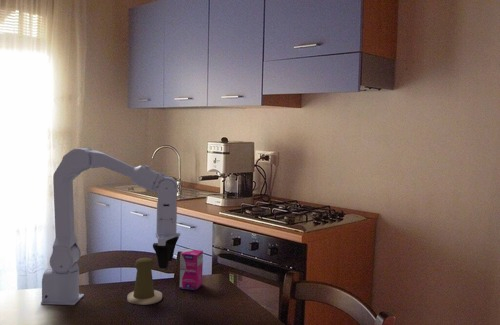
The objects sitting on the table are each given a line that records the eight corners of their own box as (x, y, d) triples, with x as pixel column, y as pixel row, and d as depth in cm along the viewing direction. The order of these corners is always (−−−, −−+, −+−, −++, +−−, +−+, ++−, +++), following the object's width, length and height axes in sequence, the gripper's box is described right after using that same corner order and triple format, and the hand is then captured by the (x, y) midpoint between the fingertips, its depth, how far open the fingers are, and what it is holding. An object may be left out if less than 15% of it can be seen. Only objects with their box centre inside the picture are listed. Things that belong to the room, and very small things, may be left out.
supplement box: (178, 289, 147) (179, 253, 146) (185, 283, 153) (186, 248, 152) (196, 291, 146) (197, 254, 145) (202, 285, 151) (203, 250, 151)
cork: (150, 299, 134) (151, 261, 133) (130, 298, 135) (130, 260, 134) (157, 292, 140) (157, 256, 139) (137, 291, 141) (137, 255, 140)
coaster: (123, 304, 133) (123, 300, 133) (132, 292, 143) (132, 288, 143) (158, 305, 133) (158, 301, 133) (165, 293, 143) (165, 289, 143)
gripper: (176, 223, 129) (175, 272, 130) (184, 214, 143) (183, 258, 144) (150, 222, 129) (149, 271, 130) (161, 213, 143) (160, 257, 144)
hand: (165, 264), depth 137 cm, fingers open, 7 cm apart
